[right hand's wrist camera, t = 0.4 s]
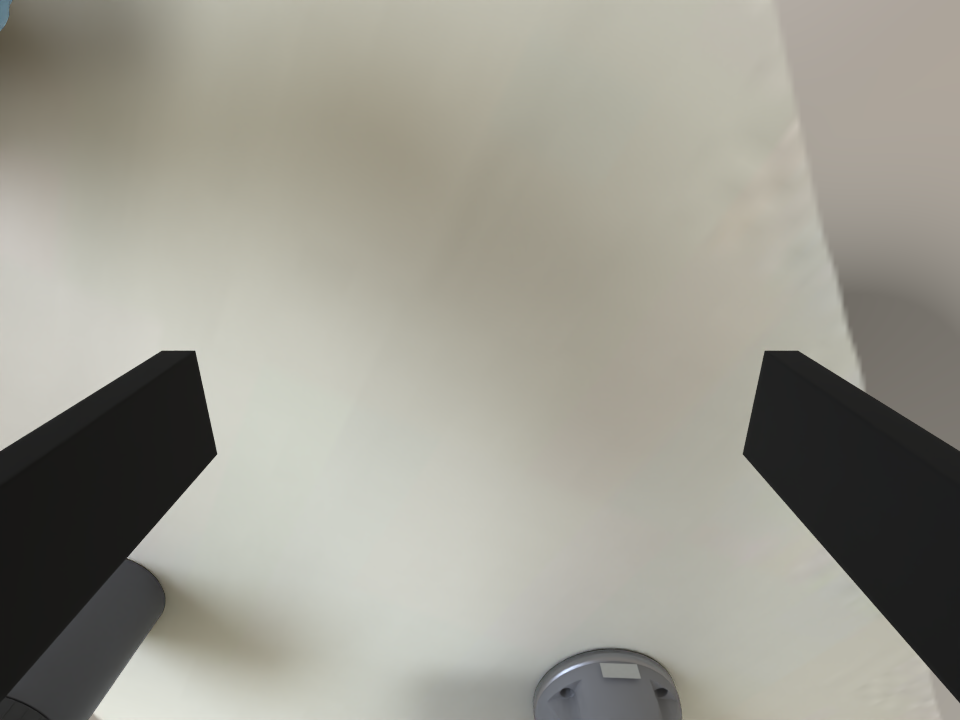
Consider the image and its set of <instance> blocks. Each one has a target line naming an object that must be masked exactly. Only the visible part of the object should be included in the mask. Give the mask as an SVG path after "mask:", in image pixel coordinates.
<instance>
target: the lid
mask: <svg viewBox="0 0 960 720" xmlns="http://www.w3.org/2000/svg"><path fill="white" fill-rule="evenodd" d="M0 720H47V719H46V718H45V717H44V716H42V715H41V714H40V713H38V712H37V711H35V710H33V709H32V708H30V707H28V706H26V705H24V704H22V703H20V702H17V701H15V700H12V699H9V698H6V697H5V698H4V699H3V700H2V701H1V703H0Z"/></svg>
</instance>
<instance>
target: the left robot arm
mask: <svg viewBox="0 0 960 720" xmlns="http://www.w3.org/2000/svg"><path fill="white" fill-rule="evenodd" d="M11 3H12V0H0V31H1V30H2V29H3V27H4V26H5V24H6V22H7V20H8V18H9V5H10V4H11Z"/></svg>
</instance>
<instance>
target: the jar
mask: <svg viewBox="0 0 960 720" xmlns="http://www.w3.org/2000/svg"><path fill="white" fill-rule="evenodd" d="M164 606H165V595H164V592H163V589H162V587H161V585H160V583H159V582H158V580H157V579H156V578H155V577H154V576H153V575H152V574H151V573H150V572H149V571H148V570H146V569H145V568H144V567H142V566H140V565H139V564H137V563H135V562H133V561H131V560H128V559H125V560H124V562H123V563H122V564H121V565H120V566H119V567H118V568H117V570H116V571H115V572H114V573H113V574H112V575H111V576H110V578H109V579H108V580H107V581H106V582H105V583H104V585H103V586H102V587H101V588H100V589H99V590H98V591H97V593H96V594H95V595H94V596H93V597H92V598H91V599H90V601H89V602H88V603H87V604H86V605H85V606H84V607H83V609H82V610H81V611H80V612H79V613H78V614H77V615H76V617H75V618H74V619H73V620H72V621H71V622H70V623H69V625H68V626H67V627H66V628H65V629H64V630H63V631H62V633H61V634H60V635H59V636H58V637H57V638H56V640H55V641H54V642H53V643H52V644H51V645H50V646H49V648H48V649H47V650H46V651H45V652H44V653H43V654H42V656H41V657H40V658H39V659H38V660H37V661H36V662H35V664H34V665H33V666H32V667H31V668H30V669H29V670H28V672H27V673H26V674H25V675H24V676H23V677H22V678H21V680H20V681H19V682H18V683H17V684H16V685H15V686H14V688H13V689H12V690H11V691H10V692H9V693H8V695H7V696H6V698H9V699H12V700H15V701H17V702H20V703H22V704H24V705H26V706H28V707H30V708H32V709H33V710H35V711H37V712H38V713H40V714H41V715H42V716H44V717H45V718H46V719H47V720H89V718H90V717H91V715H92V714H93V712H94V711H95V710H96V708H97V707H98V705H99V704H100V702H101V701H102V699H103V698H104V697H105V695H106V694H107V692H108V691H109V689H110V688H111V686H112V685H113V684H114V682H115V681H116V679H117V678H118V676H119V675H120V673H121V672H122V670H123V669H124V668H125V666H126V665H127V663H128V662H129V660H130V659H131V657H132V656H133V655H134V653H135V652H136V650H137V649H138V647H139V646H140V644H141V643H142V642H143V640H144V639H145V637H146V636H147V634H148V633H149V631H150V630H151V629H152V627H153V626H154V624H155V623H156V621H157V620H158V618H159V617H160V615H161V614H162V612H163V610H164Z"/></svg>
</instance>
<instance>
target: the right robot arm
mask: <svg viewBox="0 0 960 720" xmlns="http://www.w3.org/2000/svg"><path fill="white" fill-rule="evenodd" d="M216 455H217V451H216V446H215V441H214V437H213V432H212V427H211V423H210V418H209V413H208V409H207V404H206V399H205V394H204V390H203V385H202V380H201V376H200V371H199V366H198V362H197V357H196V352H195V351H161V352H159V353H158V354H156V355H154V356H153V357H151V358H150V359H148V360H146V361H145V362H143V363H142V364H140V365H138V366H137V367H135V368H133V369H132V370H130V371H129V372H127V373H125V374H124V375H122V376H121V377H119V378H117V379H116V380H114V381H113V382H111V383H109V384H108V385H106V386H105V387H103V388H101V389H100V390H98V391H96V392H95V393H93V394H92V395H90V396H88V397H87V398H85V399H84V400H82V401H80V402H79V403H77V404H76V405H74V406H72V407H71V408H69V409H68V410H66V411H64V412H63V413H61V414H59V415H58V416H56V417H55V418H53V419H51V420H50V421H48V422H47V423H45V424H43V425H42V426H40V427H39V428H37V429H35V430H34V431H32V432H31V433H29V434H27V435H26V436H24V437H22V438H21V439H19V440H18V441H16V442H14V443H13V444H11V445H10V446H8V447H6V448H5V449H3V450H2V451H0V703H1V701H2V700H3V699H4V698H5V697H6V696H7V695H8V693H9V692H10V691H11V690H12V689H13V688H14V686H15V685H16V684H17V683H18V682H19V681H20V680H21V678H22V677H23V676H24V675H25V674H26V673H27V672H28V670H29V669H30V668H31V667H32V666H33V665H34V664H35V662H36V661H37V660H38V659H39V658H40V657H41V656H42V654H43V653H44V652H45V651H46V650H47V649H48V648H49V646H50V645H51V644H52V643H53V642H54V641H55V640H56V638H57V637H58V636H59V635H60V634H61V633H62V631H63V630H64V629H65V628H66V627H67V626H68V625H69V623H70V622H71V621H72V620H73V619H74V618H75V617H76V615H77V614H78V613H79V612H80V611H81V610H82V609H83V607H84V606H85V605H86V604H87V603H88V602H89V601H90V599H91V598H92V597H93V596H94V595H95V594H96V593H97V591H98V590H99V589H100V588H101V587H102V586H103V585H104V583H105V582H106V581H107V580H108V579H109V578H110V576H111V575H112V574H113V573H114V572H115V571H116V570H117V568H118V567H119V566H120V565H121V564H122V563H123V562H124V560H125V559H126V558H127V557H128V556H129V555H130V554H131V552H132V551H133V550H134V549H135V548H136V547H137V546H138V544H139V543H140V542H141V541H142V540H143V539H144V538H145V536H146V535H147V534H148V533H149V532H150V531H151V530H152V528H153V527H154V526H155V525H156V524H157V523H158V521H159V520H160V519H161V518H162V517H163V516H164V515H165V513H166V512H167V511H168V510H169V509H170V508H171V507H172V505H173V504H174V503H175V502H176V501H177V500H178V499H179V497H180V496H181V495H182V494H183V493H184V492H185V491H186V489H187V488H188V487H189V486H190V485H191V484H192V483H193V481H194V480H195V479H196V478H197V477H198V476H199V475H200V473H201V472H202V471H203V470H204V469H205V468H206V466H207V465H208V464H209V463H210V462H211V461H212V460H213V458H214V457H215V456H216ZM743 455H744V456H745V457H746V458H747V460H748V461H749V462H750V463H751V464H752V465H753V466H754V468H755V469H756V470H757V471H758V472H759V473H760V475H761V476H762V477H763V478H764V479H765V480H766V481H767V483H768V484H769V485H770V486H771V487H772V488H773V489H774V491H775V492H776V493H777V494H778V495H779V496H780V497H781V499H782V500H783V501H784V502H785V503H786V504H787V505H788V507H789V508H790V509H791V510H792V511H793V512H794V513H795V515H796V516H797V517H798V518H799V519H800V520H801V521H802V523H803V524H804V525H805V526H806V527H807V528H808V530H809V531H810V532H811V533H812V534H813V535H814V536H815V538H816V539H817V540H818V541H819V542H820V543H821V544H822V546H823V547H824V548H825V549H826V550H827V551H828V552H829V554H830V555H831V556H832V557H833V558H834V559H835V560H836V562H837V563H838V564H839V565H840V566H841V567H842V568H843V570H844V571H845V572H846V573H847V574H848V575H849V576H850V578H851V579H852V580H853V581H854V582H855V583H856V585H857V586H858V587H859V588H860V589H861V590H862V591H863V593H864V594H865V595H866V596H867V597H868V598H869V599H870V601H871V602H872V603H873V604H874V605H875V606H876V607H877V609H878V610H879V611H880V612H881V613H882V614H883V615H884V617H885V618H886V619H887V620H888V621H889V622H890V623H891V625H892V626H893V627H894V628H895V629H896V630H897V631H898V633H899V634H900V635H901V636H902V637H903V638H904V640H905V641H906V642H907V643H908V644H909V645H910V646H911V648H912V649H913V650H914V651H915V652H916V653H917V654H918V656H919V657H920V658H921V659H922V660H923V661H924V662H925V664H926V665H927V666H928V667H929V668H930V669H931V670H932V672H933V673H934V674H935V675H936V676H937V677H938V678H939V680H940V681H941V682H942V683H943V684H944V685H945V686H946V688H947V689H948V690H949V691H950V692H951V693H952V695H953V696H954V697H955V698H956V699H957V700H958V701H959V703H960V451H958V450H957V449H955V448H954V447H952V446H950V445H949V444H947V443H946V442H944V441H942V440H941V439H939V438H937V437H936V436H934V435H933V434H931V433H929V432H928V431H926V430H925V429H923V428H921V427H920V426H918V425H917V424H915V423H913V422H912V421H910V420H909V419H907V418H905V417H904V416H902V415H900V414H899V413H897V412H896V411H894V410H892V409H891V408H889V407H888V406H886V405H884V404H883V403H881V402H880V401H878V400H876V399H875V398H873V397H871V396H870V395H868V394H867V393H865V392H864V391H862V390H860V389H859V388H857V387H855V386H854V385H852V384H851V383H849V382H847V381H846V380H844V379H843V378H841V377H839V376H838V375H836V374H835V373H833V372H831V371H830V370H828V369H827V368H825V367H823V366H822V365H820V364H818V363H817V362H815V361H814V360H812V359H810V358H809V357H807V356H806V355H804V354H802V353H801V352H799V351H765V352H764V357H763V362H762V366H761V371H760V376H759V380H758V385H757V390H756V394H755V399H754V404H753V409H752V413H751V418H750V423H749V427H748V432H747V437H746V441H745V446H744V451H743ZM533 708H534V718H535V720H682V710H681V705H680V700H679V696H678V693H677V690H676V687H675V685H674V682H673V680H672V678H671V676H670V675H669V673H668V672H667V671H666V669H665V668H663V667H662V666H661V665H660V664H659V663H657V662H656V661H654V660H653V659H651V658H649V657H647V656H644V655H641V654H639V653H635V652H631V651H626V650H614V649H607V650H596V651H590V652H586V653H582V654H579V655H576V656H573V657H571V658H568V659H566V660H564V661H562V662H561V663H559V664H558V665H556V666H555V667H553V668H552V669H551V670H550V671H549V672H548V673H547V674H546V675H545V676H544V677H543V678H542V679H541V681H540V682H539V684H538V686H537V688H536V690H535V694H534V699H533Z"/></svg>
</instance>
